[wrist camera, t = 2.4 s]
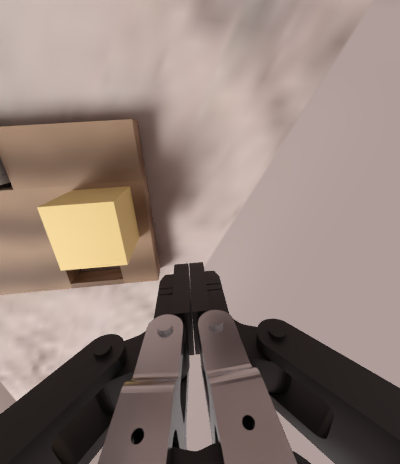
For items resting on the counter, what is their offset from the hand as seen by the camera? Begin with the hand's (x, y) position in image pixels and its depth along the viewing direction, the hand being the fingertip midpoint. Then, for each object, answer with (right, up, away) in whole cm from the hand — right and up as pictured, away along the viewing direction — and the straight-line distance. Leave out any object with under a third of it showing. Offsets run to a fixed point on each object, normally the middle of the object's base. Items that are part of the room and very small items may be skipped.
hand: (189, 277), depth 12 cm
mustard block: (-9, +4, +10) cm, 14 cm away
